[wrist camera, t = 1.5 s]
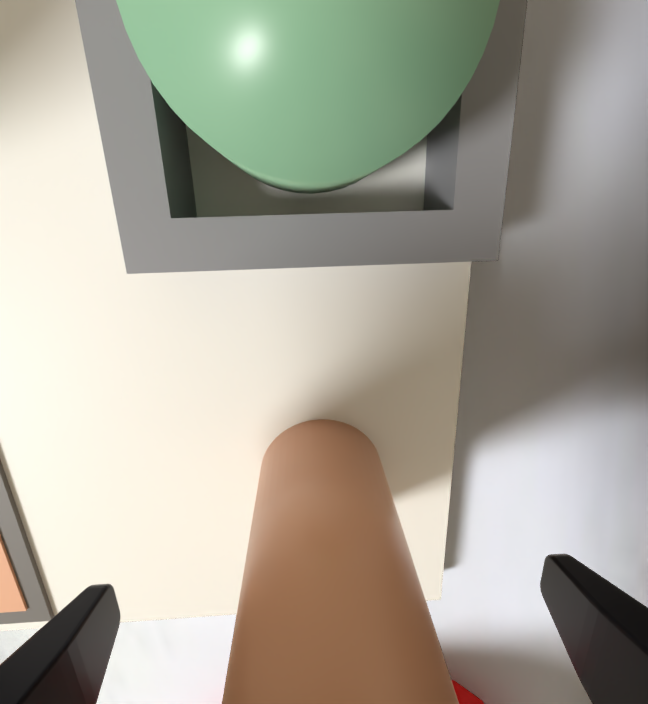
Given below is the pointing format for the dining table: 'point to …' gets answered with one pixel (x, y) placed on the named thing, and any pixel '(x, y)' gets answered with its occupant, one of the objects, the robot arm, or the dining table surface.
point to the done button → (310, 78)
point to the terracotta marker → (331, 583)
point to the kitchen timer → (465, 695)
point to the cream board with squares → (212, 319)
